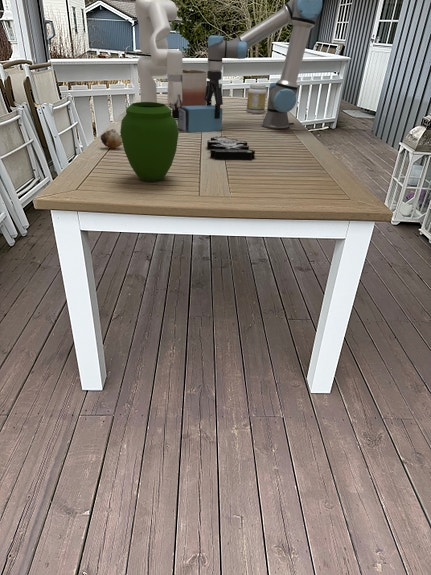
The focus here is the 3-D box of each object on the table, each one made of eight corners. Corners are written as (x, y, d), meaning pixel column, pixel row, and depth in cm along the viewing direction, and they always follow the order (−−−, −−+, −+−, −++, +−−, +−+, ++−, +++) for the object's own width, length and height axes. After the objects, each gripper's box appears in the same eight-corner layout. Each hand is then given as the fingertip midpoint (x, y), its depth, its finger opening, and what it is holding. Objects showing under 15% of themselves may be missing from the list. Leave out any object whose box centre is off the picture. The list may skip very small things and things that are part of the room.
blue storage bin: (189, 132, 215) (189, 109, 209) (181, 128, 223) (181, 106, 217) (221, 130, 222) (222, 108, 216) (213, 126, 230) (214, 105, 224)
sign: (211, 151, 170) (204, 135, 195) (211, 159, 172) (203, 142, 197) (256, 152, 172) (243, 136, 198) (255, 159, 174) (242, 143, 199)
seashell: (124, 147, 182) (123, 128, 178) (122, 150, 177) (120, 130, 173) (103, 146, 182) (101, 127, 178) (100, 149, 177) (98, 129, 173)
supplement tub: (247, 109, 285) (249, 83, 276) (264, 111, 283) (267, 84, 274) (245, 112, 274) (248, 84, 265) (264, 114, 273) (266, 86, 264)
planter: (200, 104, 298) (200, 69, 286) (210, 110, 277) (212, 73, 266) (165, 104, 290) (165, 69, 278) (174, 110, 270) (173, 72, 258)
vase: (131, 189, 135) (125, 110, 122) (118, 172, 150) (112, 100, 137) (186, 184, 142) (187, 109, 129) (169, 168, 157) (167, 99, 144)
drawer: (173, 131, 212) (172, 111, 207) (167, 127, 219) (166, 108, 214) (214, 128, 221) (214, 110, 216) (207, 125, 228) (207, 107, 223)
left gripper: (163, 77, 208) (164, 116, 217) (173, 80, 196) (173, 120, 206) (176, 77, 211) (177, 115, 220) (187, 80, 199) (187, 120, 209)
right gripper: (199, 68, 217) (198, 113, 229) (217, 72, 200) (215, 120, 212) (211, 68, 220) (210, 112, 232) (231, 73, 203) (228, 120, 214)
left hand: (175, 118), depth 213 cm, fingers closed
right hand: (212, 116), depth 222 cm, fingers closed on blue storage bin, 10 cm apart
